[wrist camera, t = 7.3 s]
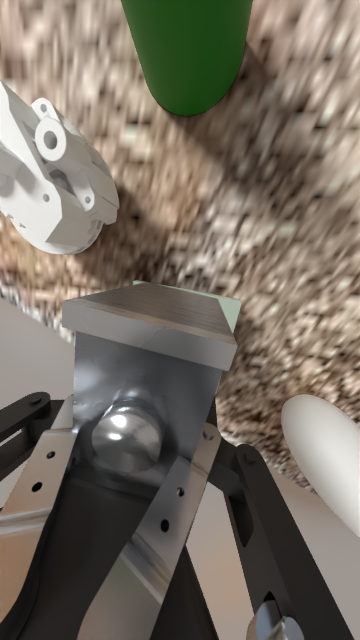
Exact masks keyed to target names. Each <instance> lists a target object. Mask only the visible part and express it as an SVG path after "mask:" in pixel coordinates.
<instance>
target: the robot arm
mask: <svg viewBox="0 0 360 640" xmlns="http://www.w3.org/2000/svg"><path fill="white" fill-rule="evenodd" d="M73 397H74V394H72V395H70V396H68V397H67V398H66V399H65V400H50V395H49V394H48V393H46V392H36V393H32V394H29V395H27V396H25V397H24V398H22V399H20V400H18V401H16V402H14V403H12V404H11V405H9V406H7V407H5V408H3V409H1V410H0V443H1V442H2V441H4V440H5V439H7V438H8V437H10V436H11V435H12V434H14V433H15V432H17V431H19V430H20V429H21V431H22V432H21V433H19V434H18V435H17V436H15V437H14V438H12V439H11V440H9V441H8V442H6V443H5V444H3V445H2V446H1V447H0V481H2V480H3V479H4V478H5V477H6V476H8V475H9V474H10V473H11V472H12V471H14V470H15V469H16V468H17V467H18V466H20V465H21V464H22V463H23V462H24V461H26V460H27V459H28V458H29V457H30V458H29V460H28V462H27V464H26V465H25V467H24V469H23V471H22V473H21V475H20V477H19V479H18V480H17V482H16V484H15V486H14V488H13V490H12V492H11V493H10V495H9V497H8V499H7V501H6V503H5V505H4V506H3V507H2V508H0V640H219V638H218V636H217V632H216V630H215V627H214V624H213V621H212V618H211V615H210V613H209V610H208V608H207V604H206V601H205V598H204V596H203V593H202V590H201V587H200V584H199V581H198V579H197V576H196V573H195V570H194V567H193V564H192V562H191V559H190V556H189V553H188V550H187V547H186V542H187V539H188V536H189V534H190V531H191V528H192V525H193V522H194V519H195V516H196V513H197V510H198V507H199V504H200V501H201V499H202V496H203V493H204V490H205V487H206V484H207V481H208V482H210V483H211V484H213V485H214V486H216V487H217V488H218V489H220V490H221V491H223V494H224V498H225V502H226V506H227V510H228V513H229V518H230V522H231V525H232V529H233V533H234V537H235V541H236V545H237V549H238V553H239V557H240V561H241V565H242V569H243V573H244V577H245V580H246V584H247V588H248V592H249V596H250V600H251V604H252V608H253V612H254V617H253V618H252V620H251V621H250V624H249V625H248V629H247V635H246V640H354V638H353V636H352V634H351V632H350V630H349V628H348V626H347V624H346V622H345V620H344V618H343V616H342V615H341V612H340V610H339V609H338V607H337V604H336V602H335V600H334V598H333V596H332V594H331V592H330V591H329V588H328V587H327V584H326V583H325V580H324V579H323V576H322V575H321V573H320V570H319V569H318V567H317V565H316V563H315V561H314V559H313V557H312V555H311V553H310V551H309V549H308V547H307V545H306V543H305V541H304V539H303V537H302V535H301V533H300V531H299V529H298V527H297V525H296V523H295V521H294V519H293V517H292V515H291V513H290V511H289V509H288V507H287V505H286V503H285V501H284V499H283V497H282V495H281V493H280V491H279V489H278V487H277V485H276V483H275V481H274V479H273V477H272V475H271V473H270V471H269V469H268V467H267V465H266V463H265V461H264V459H263V457H262V455H261V454H260V453H259V452H258V451H257V450H256V449H255V448H254V447H252V446H250V445H248V444H240V445H238V446H237V447H236V446H234V445H232V444H230V443H229V442H227V441H226V440H225V439H224V438H223V437H222V436H221V434H220V432H219V430H218V428H217V416H216V404H215V396H214V398H213V401H212V404H211V407H210V410H209V413H208V416H207V419H206V422H205V425H204V428H203V431H202V434H201V437H200V440H199V443H198V446H197V448H196V451H195V454H194V457H193V460H192V462H191V461H190V460H188V459H187V458H185V457H184V456H182V455H179V456H178V457H177V459H176V461H175V462H174V464H173V466H172V468H171V469H170V471H169V473H168V475H167V476H166V478H165V480H164V482H163V483H162V485H161V487H160V489H159V488H157V487H153V486H150V485H146V484H143V483H139V482H130V483H114V482H112V481H111V480H109V479H108V478H106V477H105V476H104V475H102V474H101V473H99V472H98V471H97V470H94V469H90V468H87V467H83V466H80V428H72V424H73Z"/></svg>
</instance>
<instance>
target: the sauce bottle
mask: <svg viewBox="0 0 360 640" xmlns="http://www.w3.org/2000/svg"><path fill="white" fill-rule="evenodd" d="M281 424H282V429H283V434H284V437H285V440H286V442H287V445H288V447H289V449H290V451H291V453H292V456H293V457H294V459H295V461H296V463H297V465H298V466H299V468H300V470H301V471H302V473H303V474H304V476H305V477H306V479H307V480H308V481H309V483H310V484H311V485H312V487H313V488H314V489H315V491H316V492H317V493H318V495H319V496H320V497H321V498H322V500H323V501H324V502H325V503H326V504H327V505H328V507H329V508H330V509H331V510H332V511H333V512H334V513H335V514H336V515H337V517H338V518H339V519H340V520H341V521H342V522H343V523H344V524H345V525H346V526H347V527H348V528H349V529H350V530H351V531H352V532H354V533H355V534H356V535H357V536H358V537H359V538H360V427H359V426H358V425H357V424H356V423H355V422H354V421H353V420H352V419H351V418H350V417H349V416H347V415H346V414H345V413H344V412H343V411H341V410H340V409H339V408H337V407H336V406H334V405H333V404H331V403H329V402H328V401H326V400H324V399H321V398H319V397H316V396H313V395H308V394H302V395H297V396H294V397H292V398H290V399H288V400H287V401H286V402H285V403H284V405H283V408H282V412H281Z"/></svg>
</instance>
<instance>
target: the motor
mask: <svg viewBox="0 0 360 640" xmlns="http://www.w3.org/2000/svg"><path fill="white" fill-rule="evenodd" d="M121 2H122V6H123V9H124V12H125V15H126V18H127V22H128V25H129V28H130V31H131V35H132V38H133V41H134V44H135V48H136V51H137V54H138V57H139V60H140V64H141V67H142V70H143V73H144V77H145V80H146V83H147V85H148V88H149V90H150V92H151V94H152V95H153V97H154V98H155V100H156V101H157V102H158V103H159V104H160V105H161V106H162V107H163V108H165V109H166V110H168V111H169V112H171V113H174V114H177V115H182V116H191V115H196V114H200V113H202V112H204V111H206V110H208V109H210V108H211V107H213V106H214V105H215V104H216V103H217V102H219V101H220V100H221V99H222V97H223V96H224V95H225V94H226V93H227V91H228V90H229V88H230V87H231V85H232V83H233V82H234V80H235V78H236V76H237V73H238V71H239V68H240V65H241V62H242V58H243V53H244V48H245V42H246V36H247V31H248V25H249V19H250V14H251V8H252V2H253V0H121Z"/></svg>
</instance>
